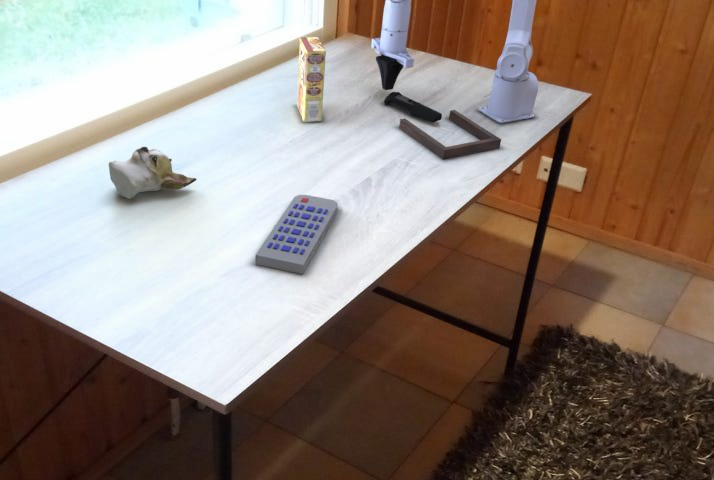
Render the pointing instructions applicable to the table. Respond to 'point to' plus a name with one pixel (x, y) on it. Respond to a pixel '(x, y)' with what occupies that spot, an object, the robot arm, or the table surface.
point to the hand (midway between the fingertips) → (387, 88)
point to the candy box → (311, 78)
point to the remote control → (297, 234)
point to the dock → (485, 144)
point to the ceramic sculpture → (146, 173)
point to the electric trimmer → (412, 107)
